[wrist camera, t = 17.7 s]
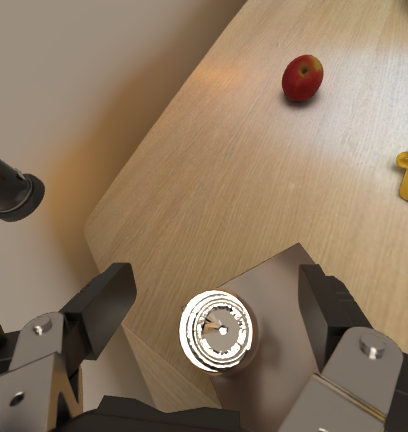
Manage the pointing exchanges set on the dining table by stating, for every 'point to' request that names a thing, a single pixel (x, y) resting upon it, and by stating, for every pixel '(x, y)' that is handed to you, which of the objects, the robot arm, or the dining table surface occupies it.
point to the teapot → (407, 184)
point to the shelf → (270, 344)
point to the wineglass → (219, 332)
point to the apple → (302, 78)
